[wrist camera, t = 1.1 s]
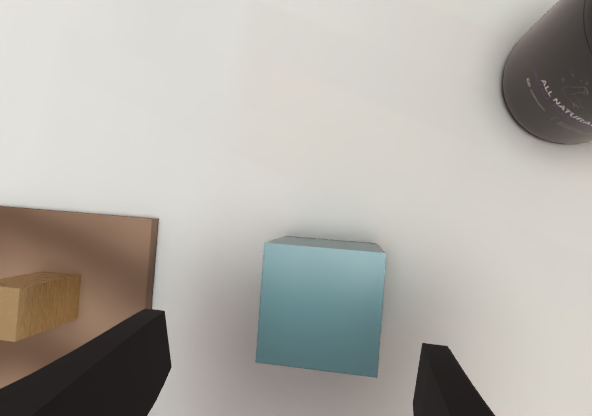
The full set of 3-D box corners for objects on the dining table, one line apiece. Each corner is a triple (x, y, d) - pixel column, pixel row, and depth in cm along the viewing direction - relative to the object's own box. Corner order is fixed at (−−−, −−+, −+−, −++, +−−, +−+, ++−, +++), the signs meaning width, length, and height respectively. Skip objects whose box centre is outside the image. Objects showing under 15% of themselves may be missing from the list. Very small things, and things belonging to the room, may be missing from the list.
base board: (133, 533, 24) (126, 544, 24) (-28, 502, 26) (-40, 511, 25) (158, 219, 25) (152, 219, 24) (-3, 205, 26) (-14, 205, 25)
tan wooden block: (77, 318, 24) (15, 341, 20) (38, 313, 25) (-32, 335, 20) (81, 275, 24) (19, 288, 20) (42, 271, 25) (-28, 283, 20)
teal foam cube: (369, 335, 23) (377, 377, 17) (279, 325, 23) (255, 362, 18) (376, 243, 23) (386, 253, 17) (285, 236, 24) (264, 242, 18)
